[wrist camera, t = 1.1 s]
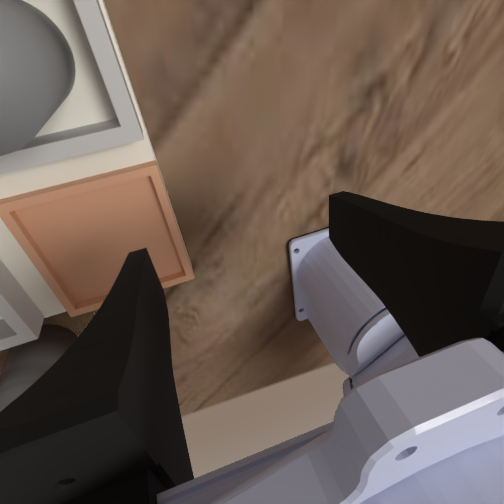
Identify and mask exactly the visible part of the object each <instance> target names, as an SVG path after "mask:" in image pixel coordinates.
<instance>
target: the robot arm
mask: <svg viewBox="0 0 504 504" xmlns="http://www.w3.org/2000/svg"><path fill="white" fill-rule="evenodd" d="M296 248H297V250H296V251H294V250H295V249H296ZM289 253H290V263H291V273H292V283H293V293H294V303H295V314H296V318H297V320H298V321H302V320H305V319H308V320H309V321H310V323H311V324H312V326H313V328H314V329H315V331H316V333H317V334H318V336H319V337H320V339H321V341H322V342H323V344H324V345H325V347H326V349H327V350H328V352H329V354H330V355H331V357H332V358H333V360H334V362H335V363H336V364H337V366H338V367H339V368H340V369H341V370H342V371H344V372H345V373H346V374H348V375H349V378H347V379H346V380H345V381H344V383H343V393H344V397H343V398H342V399H341V401H340V403H339V405H338V408H337V410H336V412H335V416H334V422H331V423H329V424H326V425H324V426H321V427H319V428H317V429H314V430H312V431H309V432H307V433H304V434H302V435H300V436H297V437H295V438H292V439H290V440H288V441H285V442H283V443H280V444H278V445H275V446H273V447H271V448H268V449H266V450H263V451H261V452H258V453H256V454H253V455H251V456H249V457H246V458H244V459H242V460H239V461H237V462H234V463H232V464H229V465H227V466H224V467H222V468H219V469H217V470H215V471H212V472H210V473H207V474H205V475H203V476H200V477H198V478H195V479H194V476H193V472H192V467H191V462H190V458H189V453H188V448H187V443H186V439H185V434H184V429H183V424H182V419H181V414H180V409H179V404H178V398H177V393H176V387H175V382H174V376H173V369H172V358H171V344H170V330H169V317H168V309H167V304H166V299H165V295H164V290H163V287H162V285H161V282H160V280H159V277H158V275H157V273H156V270H155V268H154V265H153V263H152V260H151V258H150V256H149V253H148V251H147V248H143V249H140V250H136V251H133V252H129V254H128V255H127V257H126V259H125V261H124V264H123V266H122V268H121V270H120V272H119V274H118V276H117V278H116V280H115V282H114V284H113V286H112V288H111V290H110V291H109V293H108V295H107V297H106V298H105V300H104V302H103V303H102V305H101V307H100V308H99V310H98V311H97V313H96V314H95V316H94V317H93V319H92V320H91V321H90V323H89V324H88V325H87V327H86V328H85V329H84V331H83V332H82V333H81V334H80V336H79V337H78V338H77V339H76V340H75V341H74V342H73V344H72V345H71V346H70V347H69V348H68V349H67V350H66V351H65V353H64V354H63V355H62V356H61V357H60V358H59V359H58V360H57V361H56V362H55V363H54V364H53V365H52V366H51V367H50V368H49V369H48V370H47V371H46V372H45V373H44V374H43V375H42V376H41V377H40V378H39V379H38V380H37V381H36V382H35V383H33V384H32V385H31V386H30V387H29V388H28V389H27V390H26V391H24V392H23V393H22V394H21V395H20V396H18V397H17V398H16V399H15V400H14V401H12V402H11V403H10V404H9V405H8V406H7V407H5V408H4V409H3V410H2V411H1V412H0V504H504V222H497V221H481V220H471V219H461V218H453V217H446V216H441V215H435V214H429V213H424V212H419V211H415V210H411V209H407V208H403V207H399V206H395V205H392V204H388V203H385V202H381V201H378V200H375V199H371V198H368V197H364V196H361V195H357V194H354V193H349V192H344V191H342V192H339V193H335V194H332V195H329V228H327V229H324V230H321V231H318V232H315V233H311V234H308V235H305V236H302V237H298V238H295V239H293V240H291V241H290V243H289Z"/></svg>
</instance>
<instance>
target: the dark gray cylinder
mask: <svg viewBox="0 0 504 504" xmlns="http://www.w3.org/2000/svg"><path fill="white" fill-rule="evenodd" d="M77 338H78V337H77V336H76V335H75V334H74V333H73V332H72V331H71V330H69V329H67V328H64V327H61V326H57V325H42V327H41V331H40V334H39V338H38V339H36V340H33V341H30V342H27V343H23V344H20V345H17V346H14V347H11V350H10V353H9V356H8V358H7V361H6V364H5V367H4V370H3V372H2V375H1V378H0V412H1V411H2V410H3V409H4V408H5V407H7V406H8V405H9V404H10V403H11V402H12V401H14V400H15V399H16V398H17V397H18V396H20V395H21V394H22V393H23V392H24V391H26V390H27V389H28V388H29V387H30V386H31V385H32V384H33V383H35V382H36V381H37V380H38V379H39V378H40V377H41V376H42V375H43V374H44V373H45V372H46V371H47V370H48V369H49V368H50V367H51V366H52V365H53V364H54V363H55V362H56V361H57V360H58V359H59V358H60V357H61V356H62V355H63V354H64V353H65V351H66V350H67V349H68V348H69V347H70V346H71V345H72V344H73V342H74V341H75V340H76V339H77Z"/></svg>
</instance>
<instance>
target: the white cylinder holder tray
mask: <svg viewBox="0 0 504 504" xmlns="http://www.w3.org/2000/svg"><path fill="white" fill-rule="evenodd" d="M143 248H147V251H148V253H149V256H150V258H151V260H152V263H153V265H154V268H155V270H156V273H157V275H158V277H159V280H160V282H161V285H162V287H163V289H164V288H167V287H170V286H173V285H176V284H180V283H183V282H186V281H189V280H192V279H195V277H194V273H193V269H192V266H191V262H190V259H189V256H188V253H187V250H186V247H185V244H184V241H183V238H182V235H181V232H180V229H179V226H178V223H177V220H176V217H175V214H174V211H173V208H172V205H171V202H170V199H169V196H168V193H167V190H166V187H165V184H164V181H163V178H162V174H161V171H160V168H159V165H158V162H157V159H156V156H155V153H154V150H153V147H152V144H151V141H150V138H149V135H148V132H147V129H146V126H145V123H144V120H143V117H142V114H141V111H140V108H139V105H138V102H137V99H136V96H135V93H134V90H133V87H132V84H131V81H130V78H129V75H128V72H127V69H126V66H125V63H124V60H123V57H122V54H121V51H120V48H119V45H118V42H117V39H116V36H115V33H114V30H113V27H112V24H111V21H110V18H109V15H108V12H107V9H106V6H105V3H104V0H0V351H1V350H5V349H8V348H11V347H14V346H17V345H20V344H23V343H27V342H30V341H33V340H36V339H38V338H39V334H40V331H41V327H42V324H43V320H44V318H47V317H50V316H53V315H56V314H60V313H63V312H66V311H67V313H68V314H69V315H70V317H71V318H72V317H75V316H78V315H81V314H84V313H88V312H91V311H94V310H97V309H99V308H100V307H101V305H102V303H103V302H104V300H105V298H106V297H107V295H108V293H109V291H110V290H111V288H112V286H113V284H114V282H115V280H116V278H117V276H118V274H119V272H120V270H121V268H122V266H123V264H124V261H125V259H126V257H127V255H128V254H129V252H133V251H136V250H140V249H143Z"/></svg>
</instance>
